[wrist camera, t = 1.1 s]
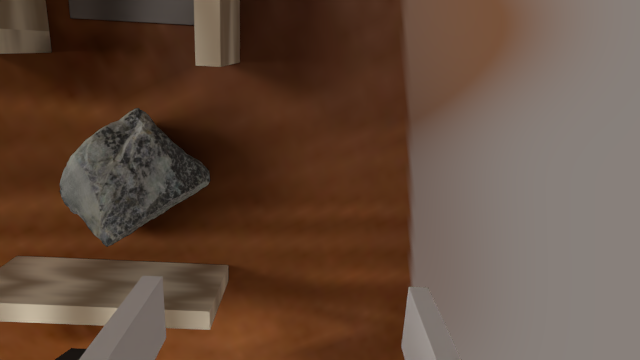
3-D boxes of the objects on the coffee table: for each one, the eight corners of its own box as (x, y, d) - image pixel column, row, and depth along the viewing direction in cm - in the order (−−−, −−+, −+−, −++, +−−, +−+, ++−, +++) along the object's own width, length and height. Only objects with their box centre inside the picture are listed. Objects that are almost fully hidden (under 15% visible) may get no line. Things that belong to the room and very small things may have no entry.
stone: (131, 285, 27) (74, 128, 24) (68, 256, 34) (17, 130, 31) (246, 221, 34) (213, 91, 31) (175, 207, 41) (142, 99, 38)
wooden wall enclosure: (19, 271, 38) (-44, 319, 32) (-50, -157, 29) (-159, -217, 22) (239, 280, 39) (223, 330, 32) (239, -139, 30) (217, -193, 23)
